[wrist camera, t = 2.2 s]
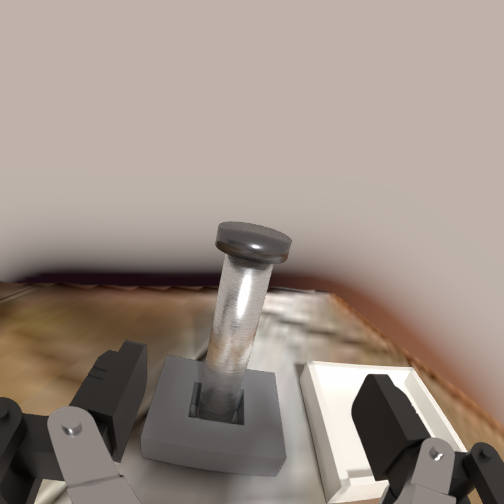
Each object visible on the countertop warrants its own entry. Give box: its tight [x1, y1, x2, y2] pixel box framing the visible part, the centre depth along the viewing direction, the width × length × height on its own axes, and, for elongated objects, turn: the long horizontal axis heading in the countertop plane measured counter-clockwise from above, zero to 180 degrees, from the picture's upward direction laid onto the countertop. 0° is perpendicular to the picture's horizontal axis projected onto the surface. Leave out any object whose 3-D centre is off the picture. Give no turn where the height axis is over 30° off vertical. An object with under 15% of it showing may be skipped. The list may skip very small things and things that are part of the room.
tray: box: [299, 360, 467, 503], centre depth 27 cm, size 15×17×3 cm
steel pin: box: [197, 222, 292, 424], centre depth 23 cm, size 5×5×18 cm
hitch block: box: [141, 355, 286, 476], centre depth 25 cm, size 11×11×3 cm
